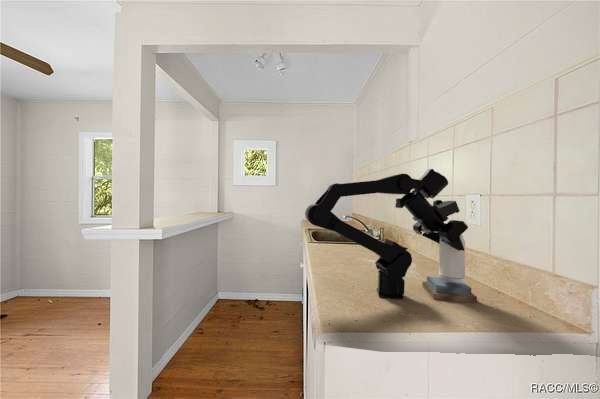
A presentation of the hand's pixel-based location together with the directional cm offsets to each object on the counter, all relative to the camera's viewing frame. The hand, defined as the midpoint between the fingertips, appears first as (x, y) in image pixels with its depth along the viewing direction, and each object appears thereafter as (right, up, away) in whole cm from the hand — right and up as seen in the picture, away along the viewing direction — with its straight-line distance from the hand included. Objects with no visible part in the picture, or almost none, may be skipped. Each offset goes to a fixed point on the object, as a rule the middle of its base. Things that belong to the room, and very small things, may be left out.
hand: (455, 249), depth 79 cm
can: (-2, -8, -1) cm, 8 cm away
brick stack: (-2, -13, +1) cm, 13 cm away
